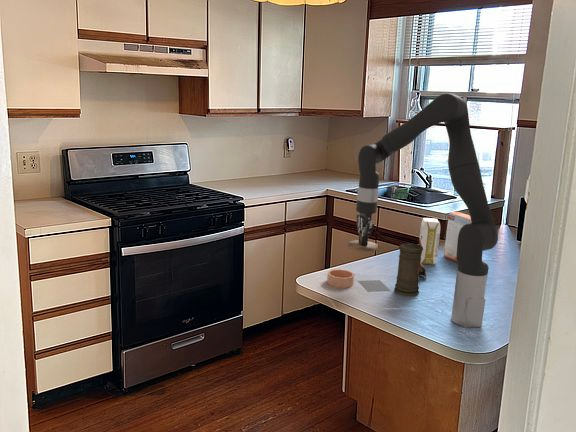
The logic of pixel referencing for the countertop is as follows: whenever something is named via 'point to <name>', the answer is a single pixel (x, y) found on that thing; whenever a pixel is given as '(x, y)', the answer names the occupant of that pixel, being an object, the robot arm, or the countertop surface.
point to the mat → (374, 285)
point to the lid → (358, 247)
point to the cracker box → (454, 233)
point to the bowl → (340, 278)
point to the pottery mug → (422, 271)
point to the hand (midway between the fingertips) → (362, 244)
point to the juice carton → (429, 240)
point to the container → (408, 269)
